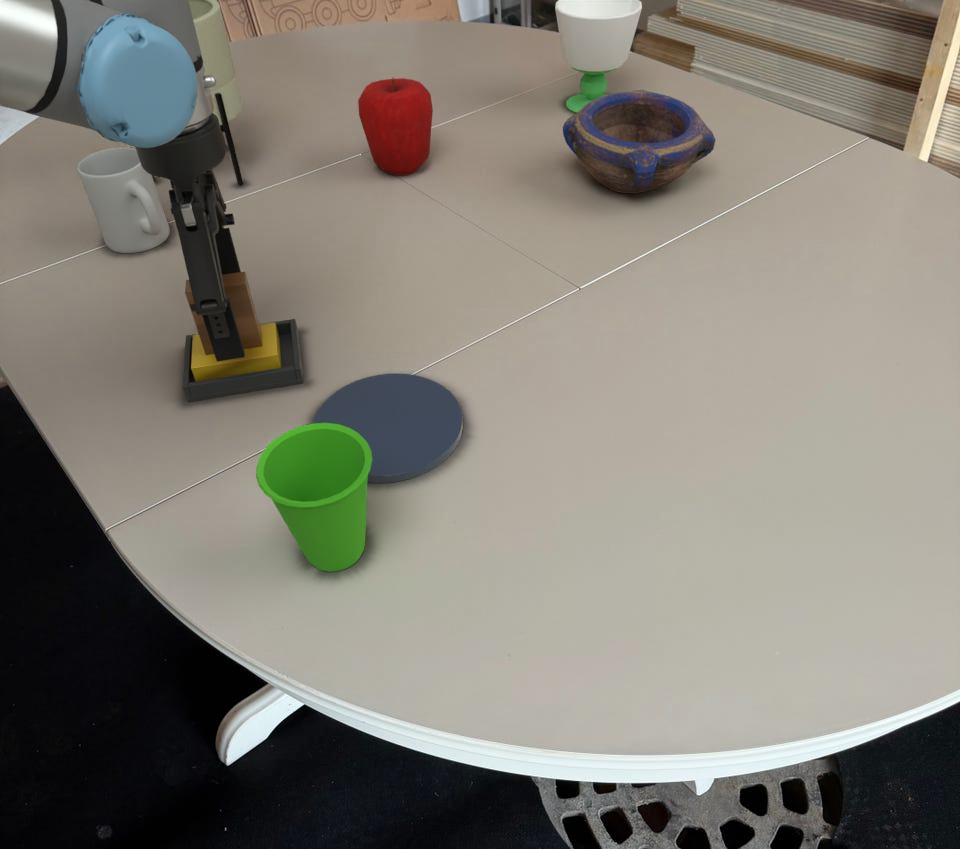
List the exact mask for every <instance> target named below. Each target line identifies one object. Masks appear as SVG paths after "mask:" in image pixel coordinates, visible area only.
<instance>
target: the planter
mask: <svg viewBox="0 0 960 849" xmlns="http://www.w3.org/2000/svg"><path fill="white" fill-rule="evenodd" d="M188 1H189V5H190V9H191V13H192V17H193V21H194V25H195V29H196V34H197V38H198V42H199V46H200V50H201V55H202V59H203V64H204V67H205V73H204V76H207V75H213V76H214V78H215V79H216V85H215V86H214V87H210V91H211V95H212V99H213V103H214V111H213V112H212V113H213V114H215V115H216V116H217V117H218V120H219V124H220V128H221V132H222V136H223V140H224V144H225V148H226V149H227V147H228V151H229V155H230V159H231V163H232V167H233V171H234V174H235V180H236V183H237V185H238V186H239V187H241V186H243V185H244V180H243V177H242V173H241V168H240V165H239V160H238V156H237V153H236V147H235V144H234V140H233V136H232V132H231V128H230V124H229V123H230V122H231V121H232V120H234V119H235V118H236V117H238V116H239V115H240V114H241V112H242V111H243V106H244V104H243V100H242V95H241V91H240V86H239V83H238V77H237V72H236V68H235V65H234V61H233V55H232V52H231V48H230V44H229V39H228V35H227V31H226V26H225V23H224V18H223V14H222V9H221V6H220V3H219V1H218V0H188ZM224 135H225V137H224ZM225 139H226V141H225ZM226 144H227V145H226ZM152 177H153V180H154V183H156V178H155V176H153V175H152Z"/></svg>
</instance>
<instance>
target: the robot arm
mask: <svg viewBox="0 0 960 849" xmlns="http://www.w3.org/2000/svg"><path fill="white" fill-rule="evenodd" d="M204 73H205V67H204V64H203V59H202V55H201V50H200V46H199V42H198V38H197V34H196V29H195V25H194V21H193V17H192V13H191V9H190V5H189V1H188V0H0V107H3V108H8V109H12V110H16V111H19V112H24V113H26V114H29V115H33V116H36V117H40V118H44V119H48V120H54V121H55V122H61V123H66V124H69V125H74V126H78V127H81V128H85V129H88V130H92V131H94V132H97V133H98V134H99V135H100V136H101V137H102V138H104V139H106V140H108V141H111V142H115V143H122V144H125V145H127V146H131V147H133V148H134V149H136V151H137V154H138V157H139V160H140V163H141V166H142V167H143V169H144V170H145V171H146V172H148V173H149V174H151V175H153V176H154V177H157V178H163V179H167V180H169V183H170V187H171V189H168V197H169V203H170V206H171V207H170V212H171V215H172V216H173V219H174V223H175V226H176V229H177V230H176V231H177V233H178V237H179V242H180V246H181V251H182V255H183V259H184V263H185V269H186V273H187V277H188V280H189V282H190V286H191V290H192V295H193V299H194V304H190V306H189V309H190V308H191V309H190V312H191V311H192V312H194V311H195V312H196V314H197V315H198V316H200V315H202V316H203V319H204V323H205V326H206V329H207V332H208V335H209V338H210V341H211V345H212V348H213V351H214V354H215V357H216V360H217V362H218V361H224V360H230V359H237V358H243V357H245V352H244V349H243V345H242V342H241V338H240V335H239V331H238V328H237V324H236V321H235V317H234V314H233V310H232V307H231V303H230V300H229V298H228V299H227V297H226V294H225V289H224V283H223V278H222V275H224V274H231V273H237V272H242V271H241V266H240V263H239V260H238V255H237V252H236V248H235V245H234V241H233V237H232V233H231V229H230V227H227V226H234V225H235V223H236V222H235V218H234V213H226V212H227V204H226V203H225V201H224V197H223V195H222V191H221V189H220V187H219V183H218V181H217V178H216V175H215V172H214V169H215V168H217V167H218V166H219V165H221V163H223V161H224V159H225V158H226V155H227V147H226V148H225V144H226V143H225V144H224V140H225V139H224V140H223V136H224V135H223V136H222V132H221V128H220V124H219V120H218V117H217V116H216V115H215V114H213V113H212V112H213V111H214V103H213V99H212V95H211V91H210V87H214V86H215V85H216V79H215V78H214V76H213V75H207V76H204ZM192 312H191V313H192Z"/></svg>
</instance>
